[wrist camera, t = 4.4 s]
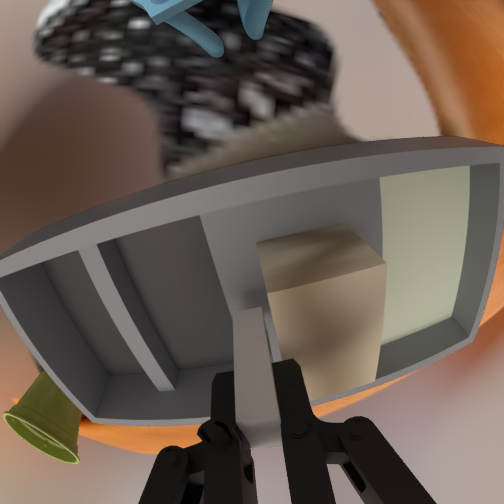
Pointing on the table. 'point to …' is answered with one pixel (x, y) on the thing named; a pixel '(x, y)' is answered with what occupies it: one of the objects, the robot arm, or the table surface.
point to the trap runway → (251, 269)
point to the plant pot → (47, 420)
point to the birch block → (326, 305)
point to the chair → (172, 12)
